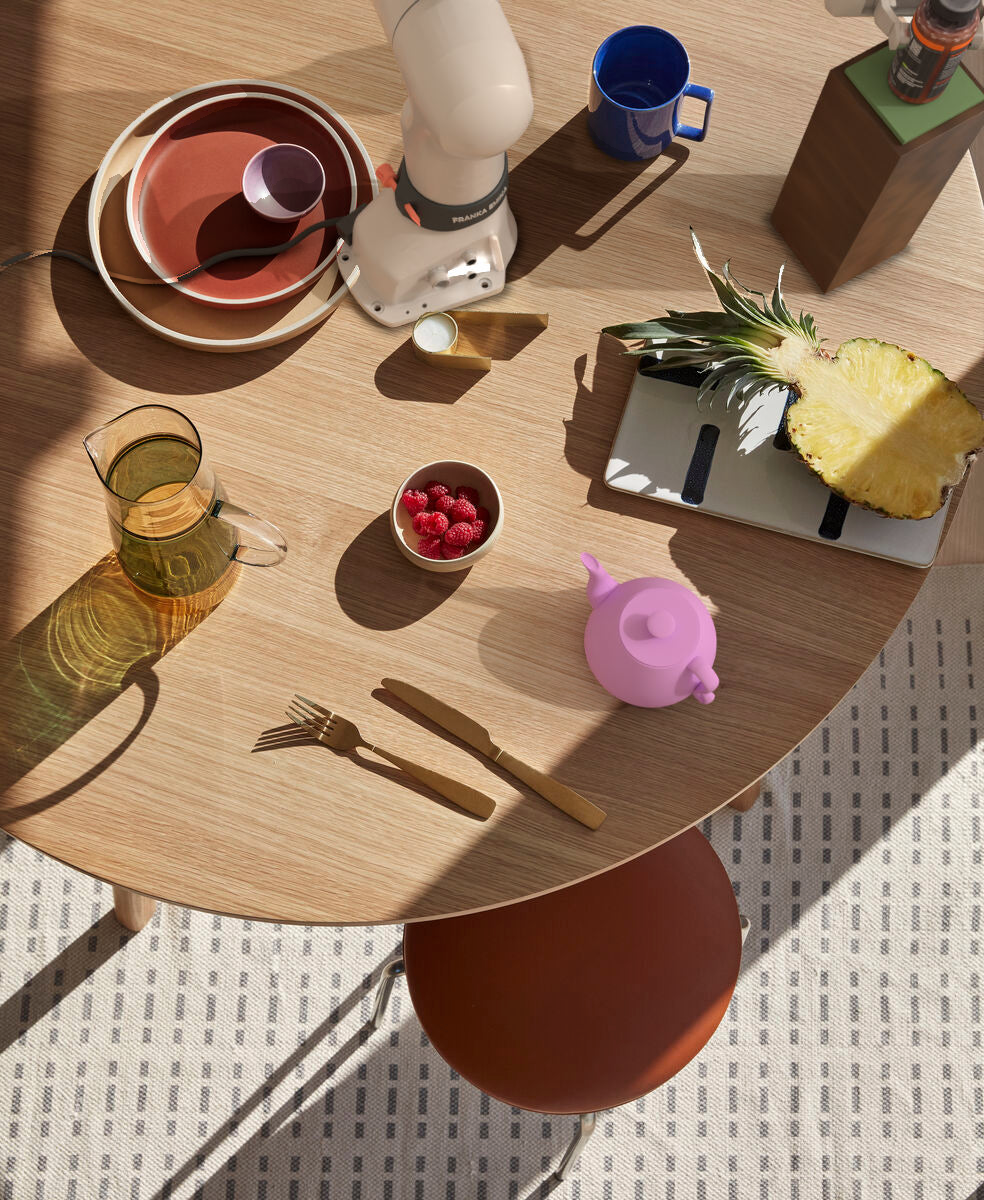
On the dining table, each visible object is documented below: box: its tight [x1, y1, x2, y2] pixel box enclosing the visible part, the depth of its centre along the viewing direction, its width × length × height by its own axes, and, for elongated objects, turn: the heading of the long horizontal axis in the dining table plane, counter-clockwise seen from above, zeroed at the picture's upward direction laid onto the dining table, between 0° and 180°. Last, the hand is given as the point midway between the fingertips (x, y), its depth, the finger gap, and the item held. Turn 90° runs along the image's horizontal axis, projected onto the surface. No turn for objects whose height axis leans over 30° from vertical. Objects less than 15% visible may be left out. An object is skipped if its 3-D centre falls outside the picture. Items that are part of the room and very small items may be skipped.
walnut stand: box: [768, 38, 984, 295], centre depth 124 cm, size 12×12×26 cm
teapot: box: [580, 551, 720, 709], centre depth 117 cm, size 20×14×12 cm
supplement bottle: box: [888, 0, 981, 104], centre depth 105 cm, size 6×6×11 cm
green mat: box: [844, 46, 984, 145], centre depth 111 cm, size 10×10×1 cm
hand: (939, 45), depth 104 cm, fingers closed on supplement bottle, 6 cm apart
